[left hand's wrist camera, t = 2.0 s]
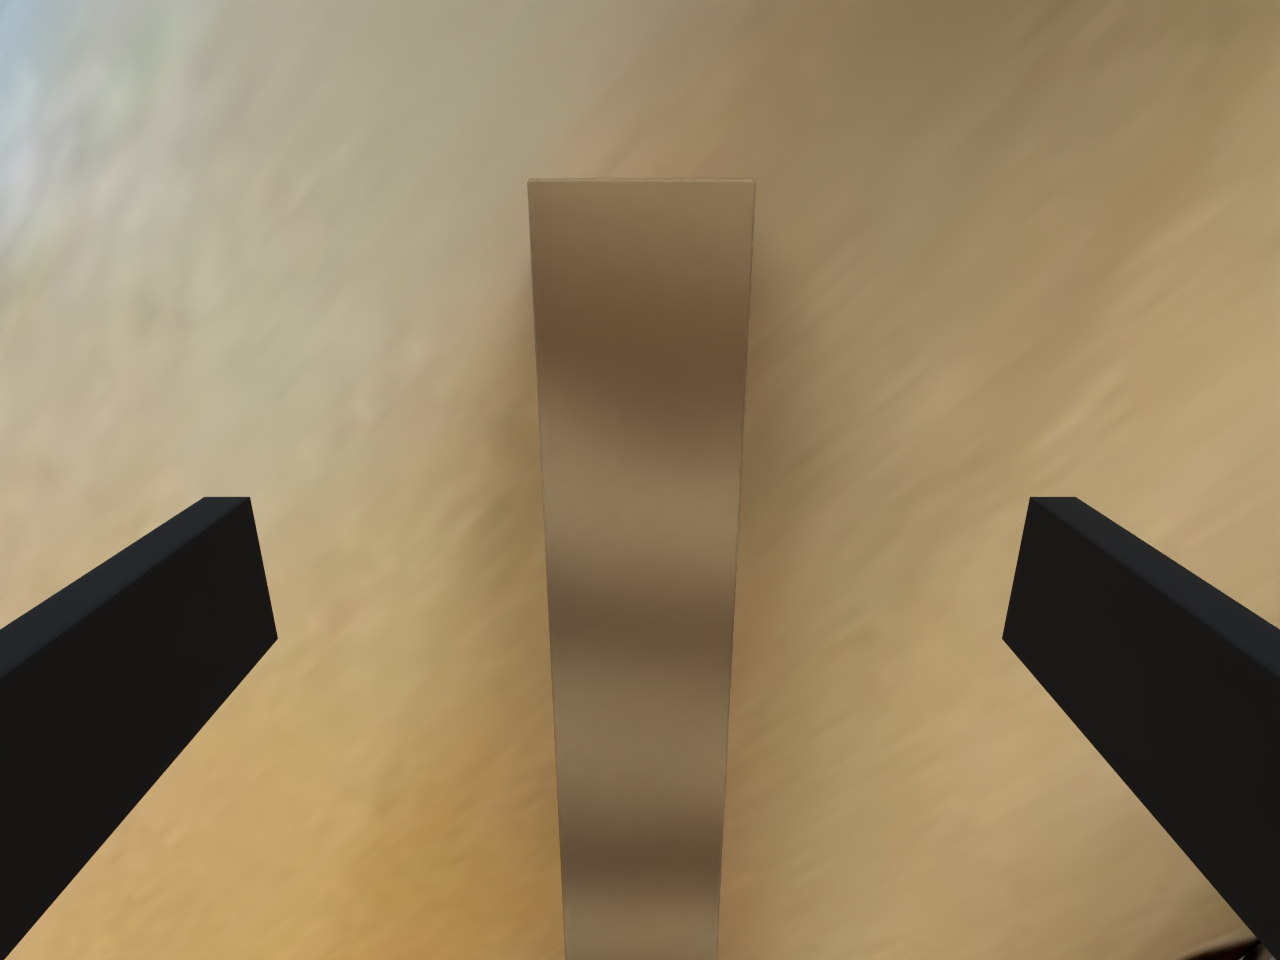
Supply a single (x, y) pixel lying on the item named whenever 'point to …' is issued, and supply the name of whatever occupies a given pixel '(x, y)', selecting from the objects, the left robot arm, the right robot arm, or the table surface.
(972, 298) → the table surface
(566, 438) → the bar
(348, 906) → the table surface
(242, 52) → the table surface
